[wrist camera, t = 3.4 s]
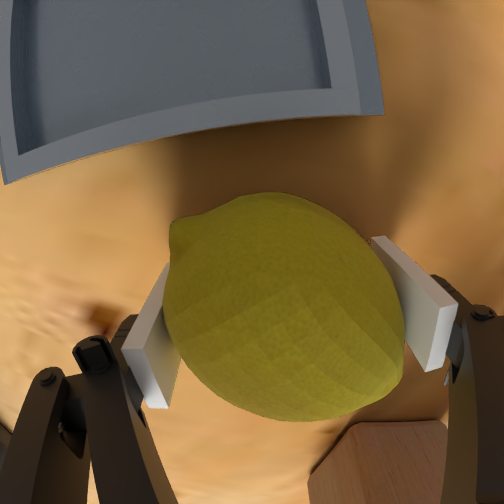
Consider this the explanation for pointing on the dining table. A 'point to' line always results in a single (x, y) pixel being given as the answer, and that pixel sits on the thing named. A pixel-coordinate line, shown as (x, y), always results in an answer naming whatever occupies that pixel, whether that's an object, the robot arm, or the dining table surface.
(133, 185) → the dining table surface
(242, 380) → the lemon
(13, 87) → the base
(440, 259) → the dining table surface
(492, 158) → the dining table surface
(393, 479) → the wooden block
